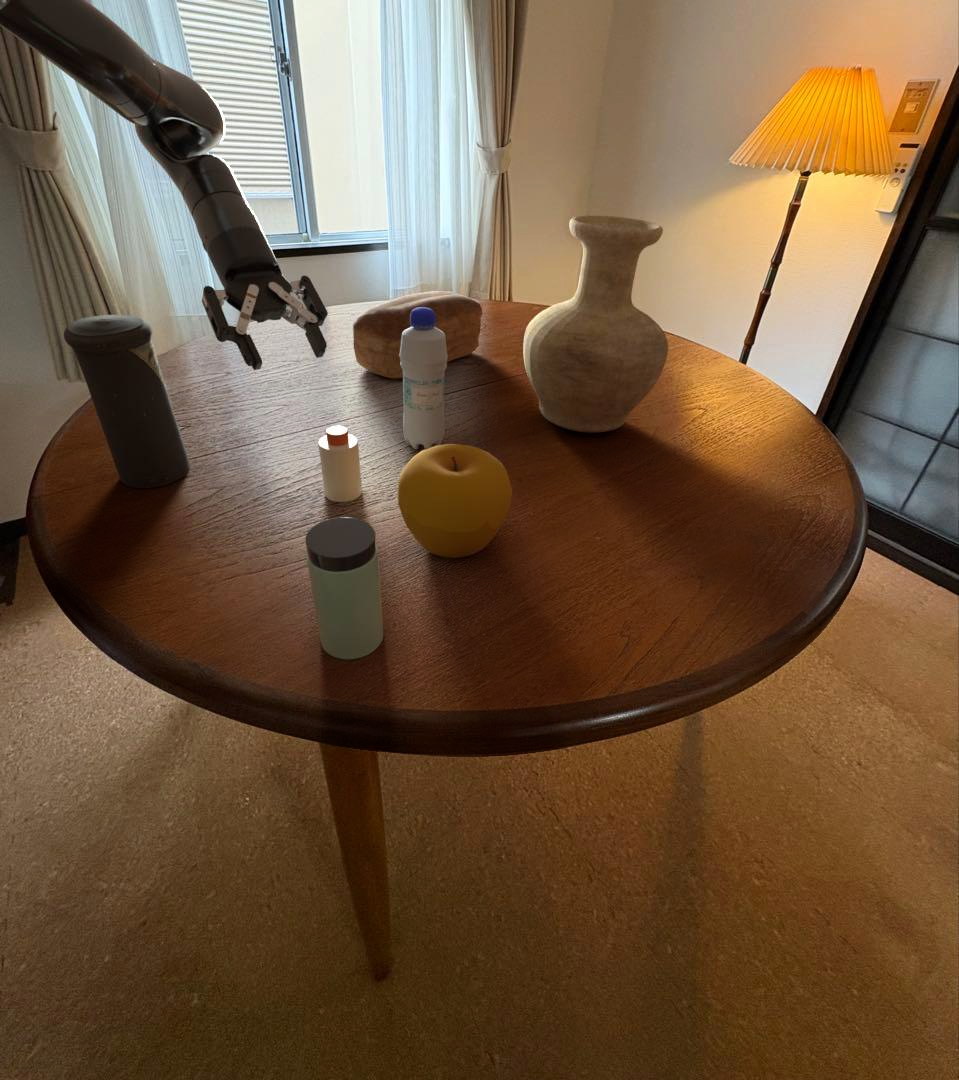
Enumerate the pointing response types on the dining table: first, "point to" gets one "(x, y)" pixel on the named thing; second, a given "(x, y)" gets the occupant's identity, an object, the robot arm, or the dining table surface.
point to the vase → (597, 333)
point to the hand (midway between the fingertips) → (291, 360)
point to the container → (130, 398)
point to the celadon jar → (345, 586)
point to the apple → (454, 498)
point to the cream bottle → (340, 465)
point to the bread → (387, 321)
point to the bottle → (423, 379)
